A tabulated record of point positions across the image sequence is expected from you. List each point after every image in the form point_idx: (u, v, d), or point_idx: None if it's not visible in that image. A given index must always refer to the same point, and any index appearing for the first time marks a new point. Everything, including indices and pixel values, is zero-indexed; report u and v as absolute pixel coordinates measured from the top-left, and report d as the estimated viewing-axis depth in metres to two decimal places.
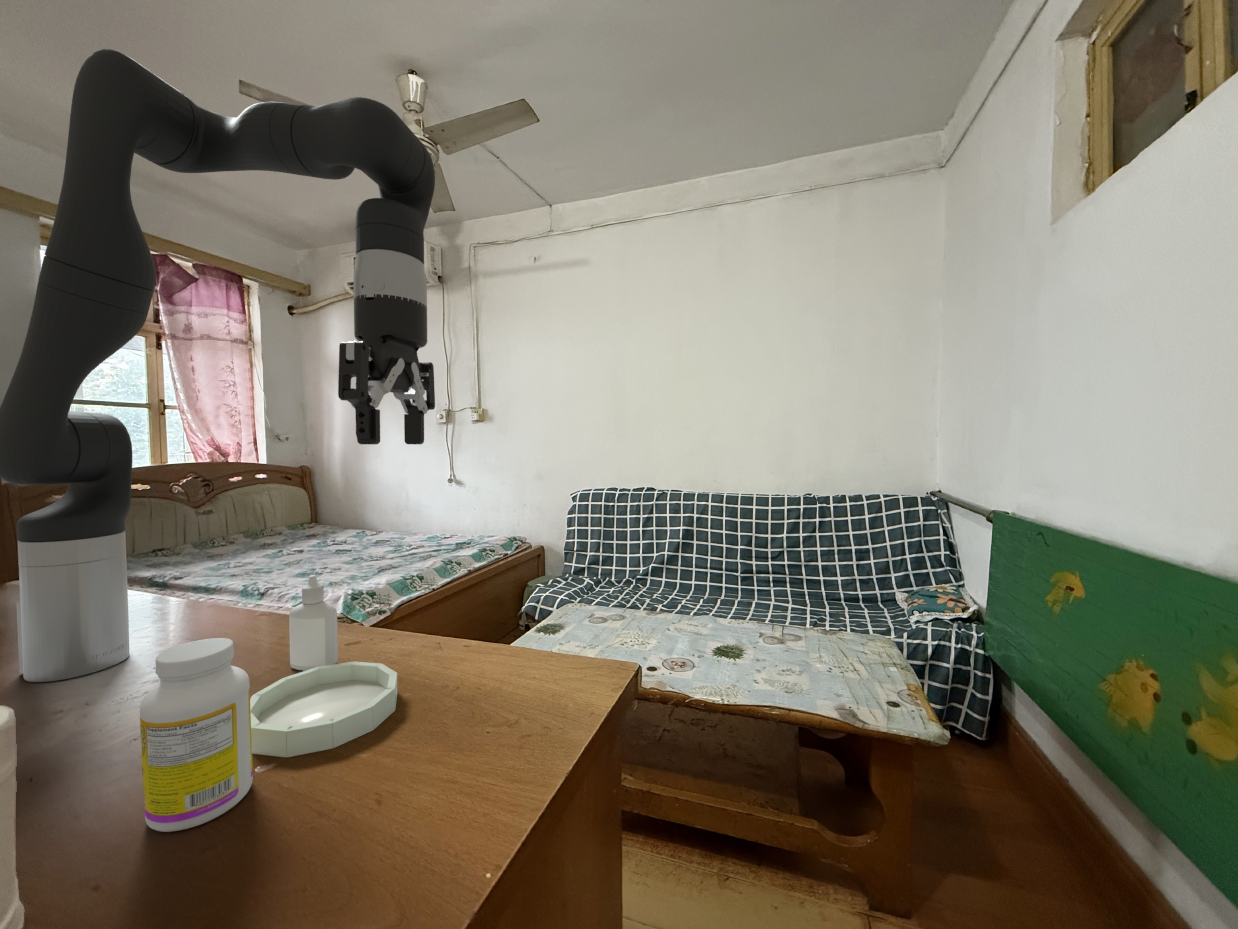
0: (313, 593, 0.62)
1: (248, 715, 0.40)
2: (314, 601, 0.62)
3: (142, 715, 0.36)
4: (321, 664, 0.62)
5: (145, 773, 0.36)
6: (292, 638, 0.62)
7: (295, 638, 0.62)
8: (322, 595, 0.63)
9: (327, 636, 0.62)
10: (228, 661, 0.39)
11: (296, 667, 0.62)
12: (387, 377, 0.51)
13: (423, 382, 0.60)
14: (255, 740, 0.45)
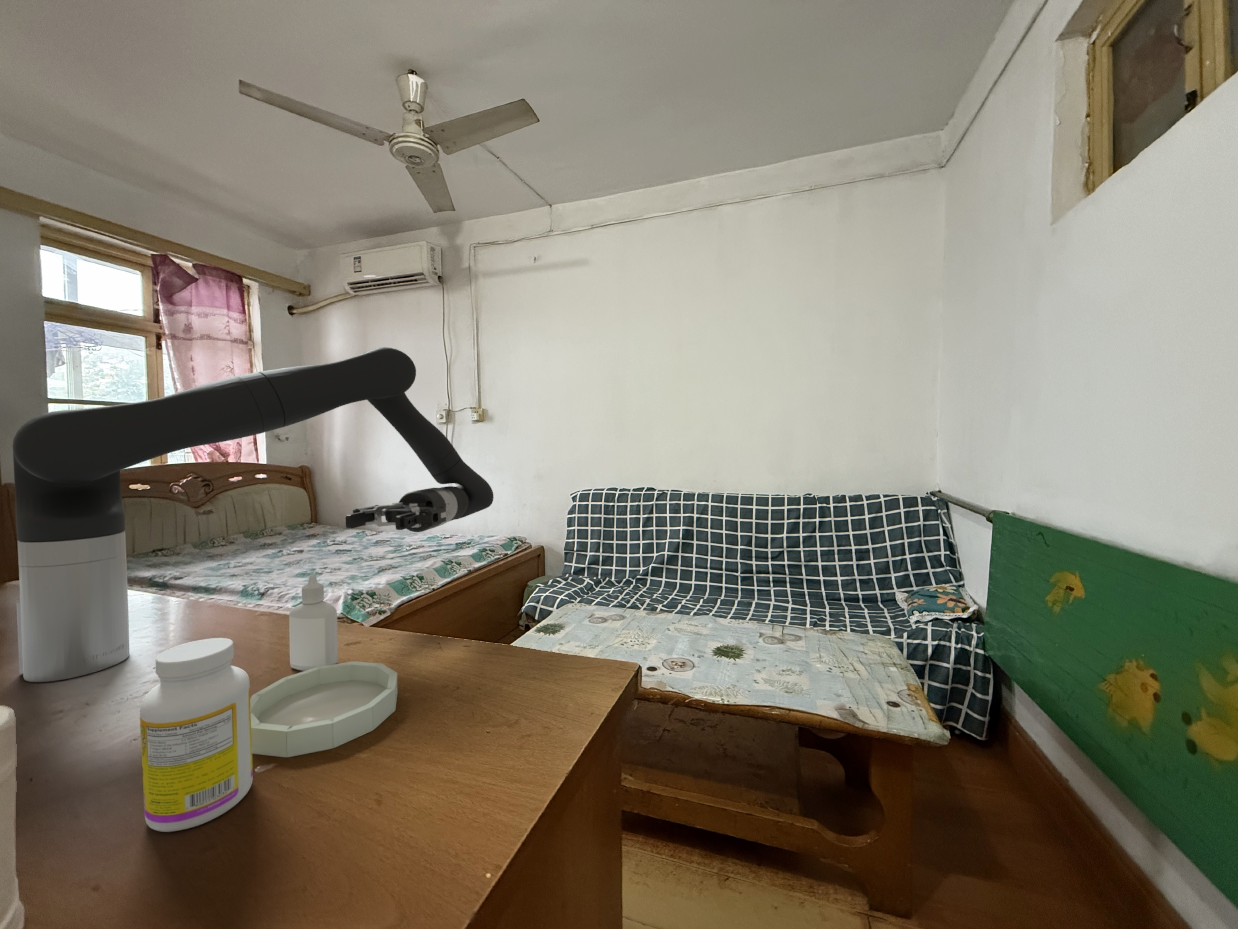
0: (313, 593, 0.62)
1: (248, 715, 0.40)
2: (314, 601, 0.62)
3: (142, 715, 0.36)
4: (321, 664, 0.62)
5: (145, 773, 0.36)
6: (292, 638, 0.62)
7: (295, 638, 0.62)
8: (322, 595, 0.63)
9: (327, 636, 0.62)
10: (228, 661, 0.39)
11: (296, 667, 0.62)
12: None
13: (372, 516, 0.83)
14: (255, 740, 0.45)
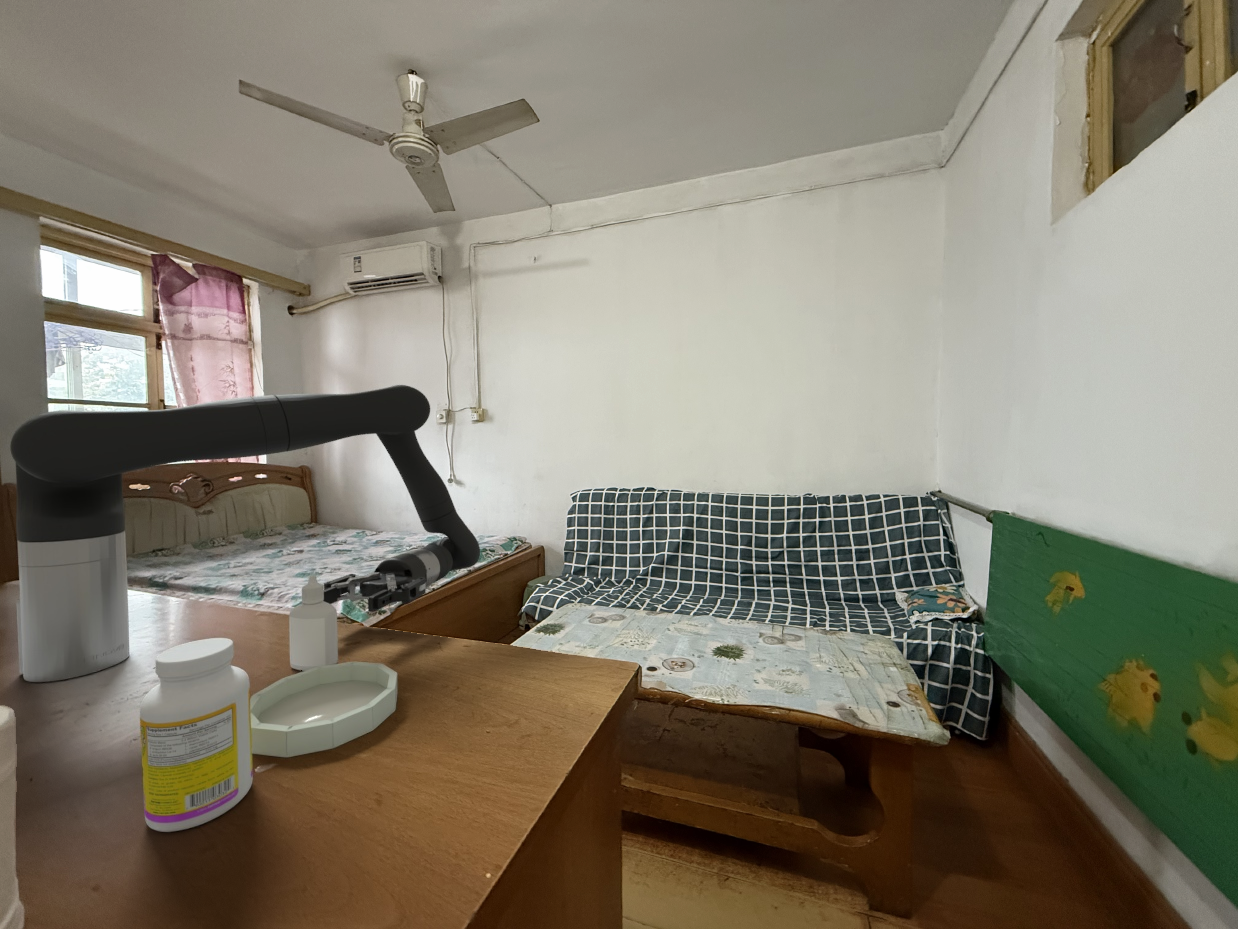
0: (313, 593, 0.62)
1: (248, 715, 0.40)
2: (314, 601, 0.62)
3: (142, 715, 0.36)
4: (321, 664, 0.62)
5: (145, 773, 0.36)
6: (292, 638, 0.62)
7: (295, 638, 0.62)
8: (322, 595, 0.63)
9: (327, 636, 0.62)
10: (228, 661, 0.39)
11: (296, 667, 0.62)
12: None
13: (345, 588, 0.77)
14: (255, 740, 0.45)
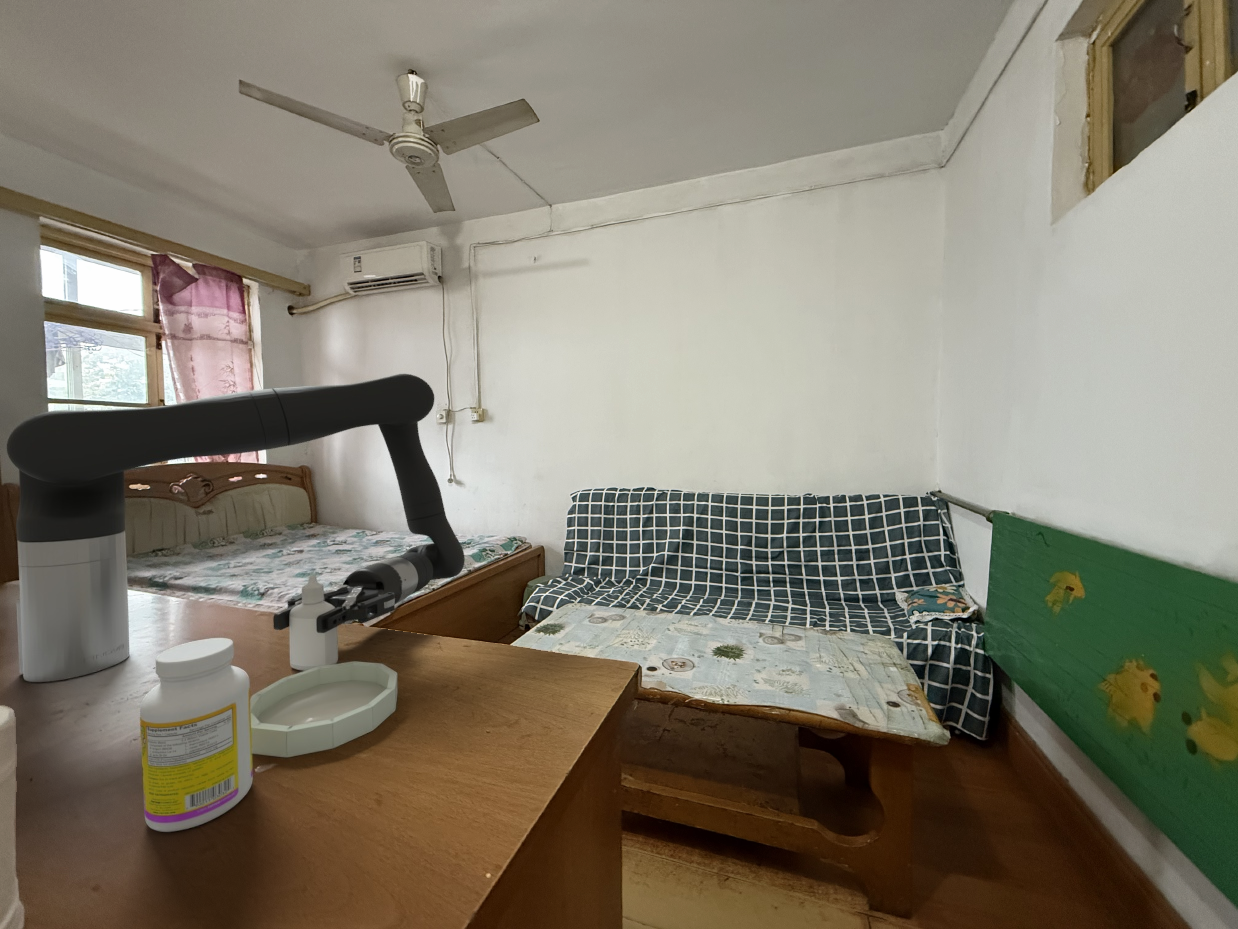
0: (313, 593, 0.62)
1: (248, 715, 0.40)
2: (314, 601, 0.62)
3: (142, 715, 0.36)
4: (321, 664, 0.62)
5: (145, 773, 0.36)
6: (292, 638, 0.62)
7: (295, 638, 0.62)
8: (322, 595, 0.63)
9: (326, 636, 0.62)
10: (228, 661, 0.39)
11: (296, 667, 0.62)
12: None
13: None
14: (255, 740, 0.45)
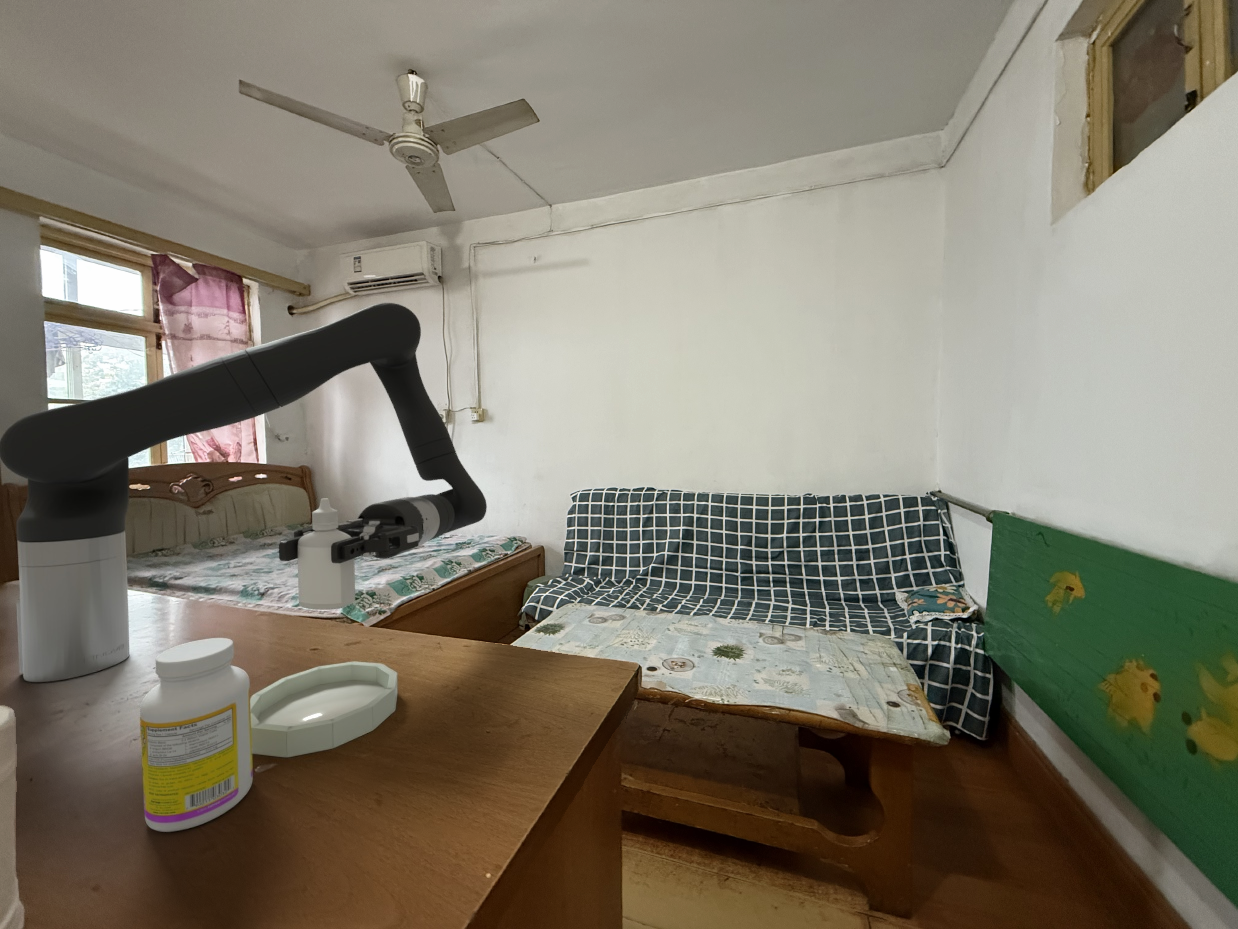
0: (326, 518, 0.52)
1: (248, 715, 0.40)
2: (327, 527, 0.52)
3: (142, 715, 0.36)
4: (336, 601, 0.52)
5: (145, 773, 0.36)
6: (301, 571, 0.52)
7: (305, 571, 0.52)
8: (336, 522, 0.53)
9: (342, 568, 0.52)
10: (228, 661, 0.39)
11: (306, 605, 0.52)
12: (377, 553, 0.58)
13: None
14: (255, 740, 0.45)
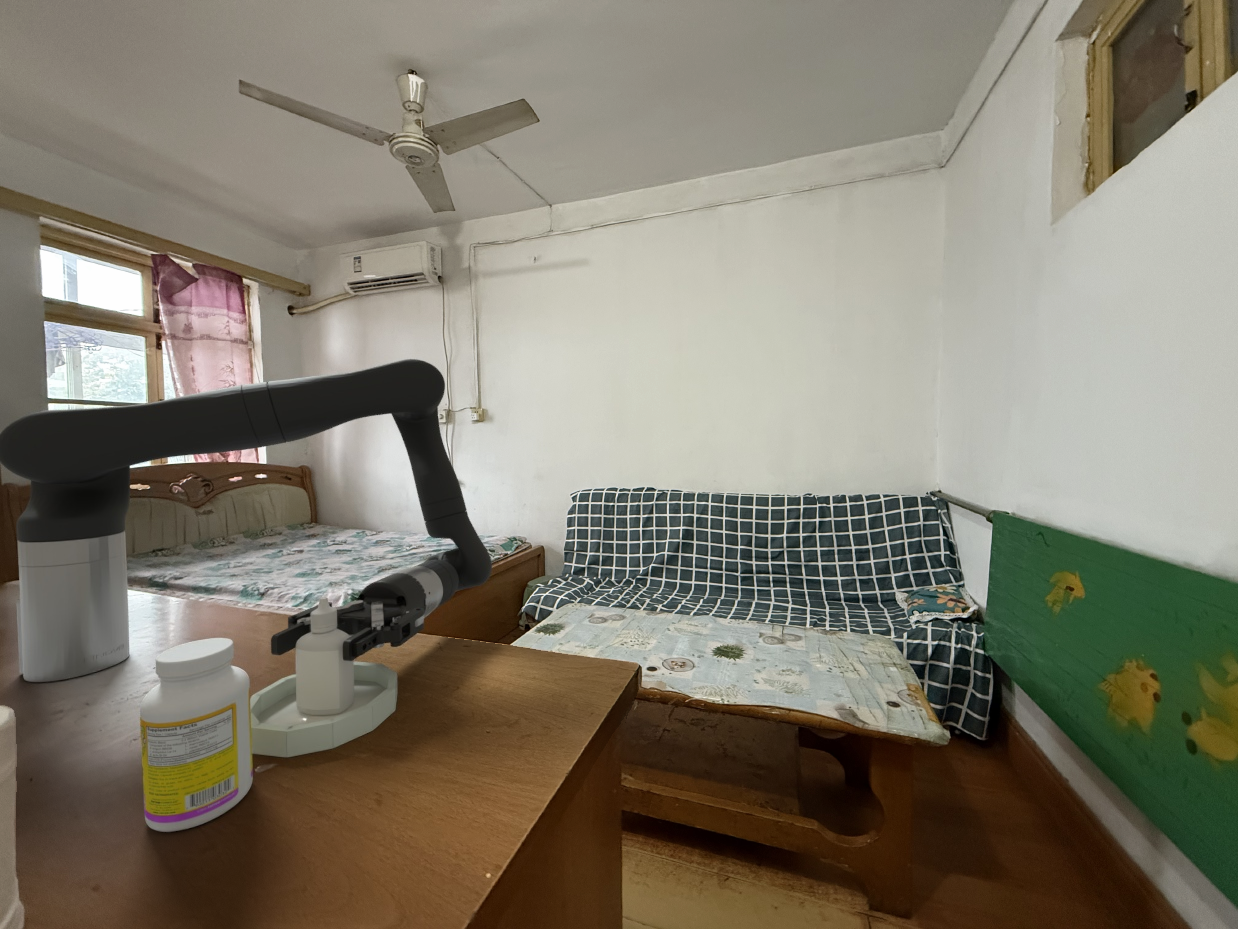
0: (325, 619, 0.51)
1: (248, 715, 0.40)
2: (325, 629, 0.51)
3: (142, 715, 0.36)
4: (334, 706, 0.50)
5: (145, 773, 0.36)
6: (298, 675, 0.51)
7: (303, 675, 0.50)
8: (335, 622, 0.52)
9: (341, 672, 0.51)
10: (228, 661, 0.39)
11: (304, 711, 0.51)
12: None
13: None
14: (255, 740, 0.45)
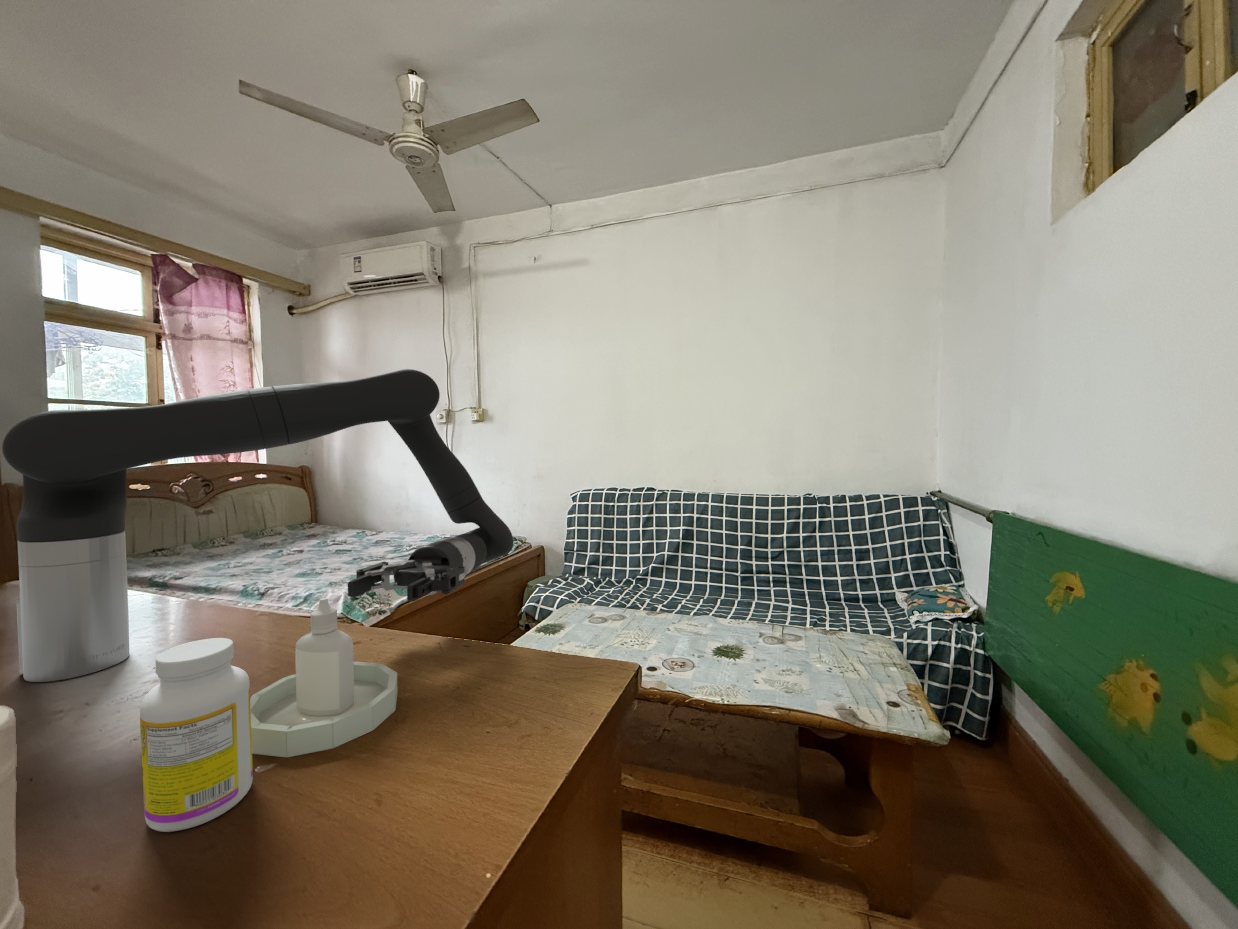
0: (325, 620, 0.51)
1: (248, 715, 0.40)
2: (325, 630, 0.51)
3: (142, 715, 0.36)
4: (334, 707, 0.50)
5: (145, 773, 0.36)
6: (298, 676, 0.51)
7: (303, 676, 0.50)
8: (335, 622, 0.52)
9: (341, 673, 0.50)
10: (228, 661, 0.39)
11: (304, 711, 0.51)
12: None
13: (378, 576, 0.71)
14: (255, 740, 0.45)
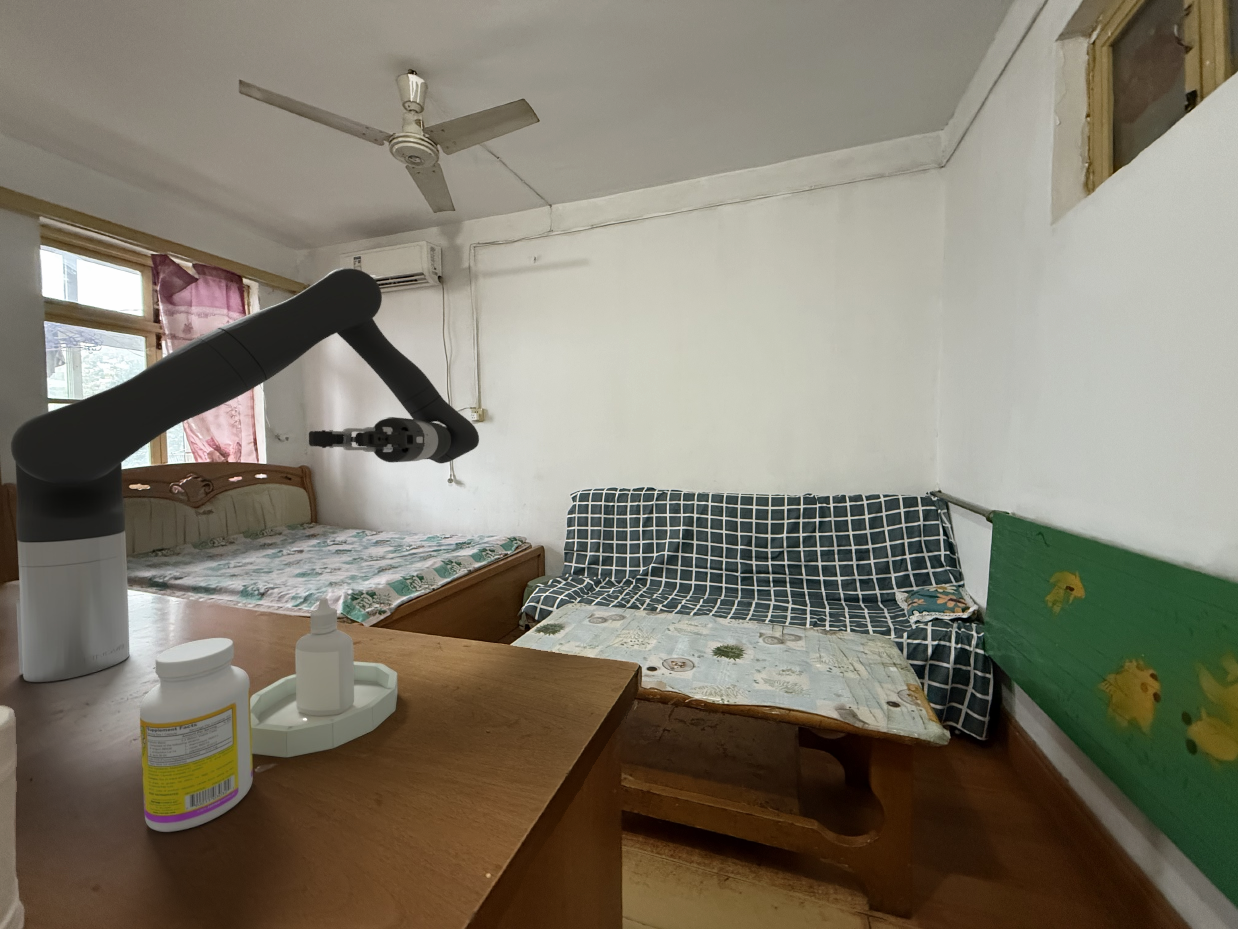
0: (325, 620, 0.51)
1: (248, 715, 0.40)
2: (325, 630, 0.51)
3: (142, 715, 0.36)
4: (334, 707, 0.50)
5: (145, 773, 0.36)
6: (298, 676, 0.51)
7: (303, 676, 0.50)
8: (335, 622, 0.52)
9: (341, 673, 0.50)
10: (228, 661, 0.39)
11: (304, 711, 0.51)
12: None
13: (341, 442, 0.76)
14: (255, 740, 0.45)
